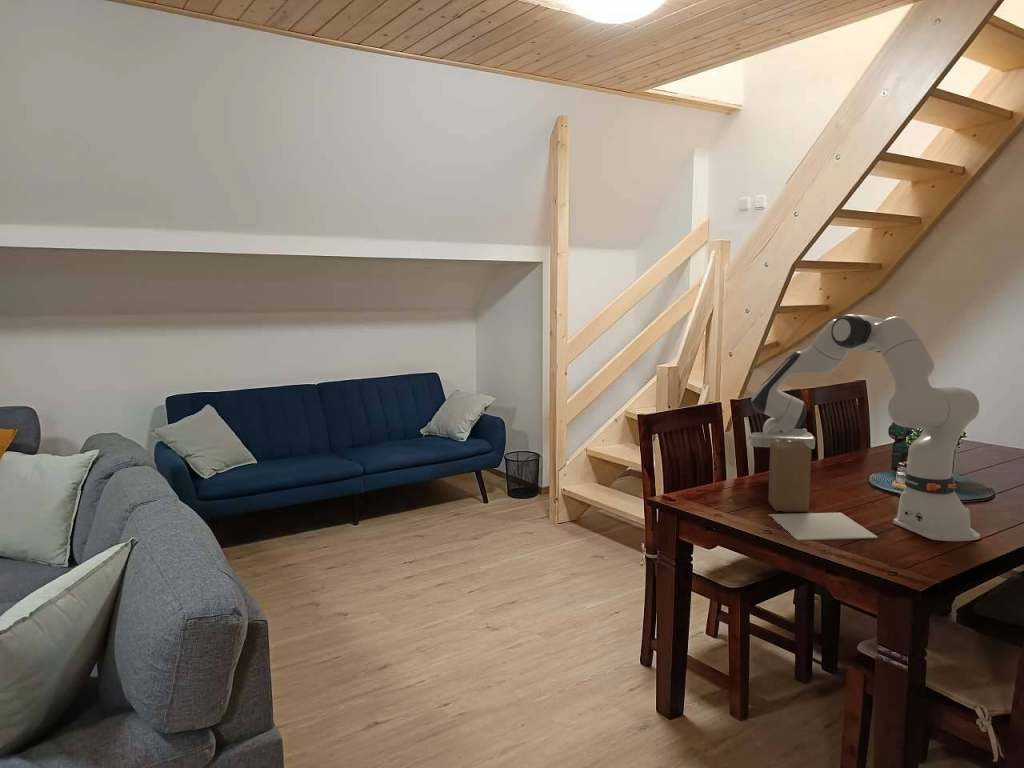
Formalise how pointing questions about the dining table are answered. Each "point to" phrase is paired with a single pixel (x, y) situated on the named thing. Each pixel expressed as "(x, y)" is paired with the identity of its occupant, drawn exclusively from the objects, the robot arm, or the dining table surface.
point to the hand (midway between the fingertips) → (784, 446)
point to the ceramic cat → (899, 443)
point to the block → (789, 476)
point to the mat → (821, 526)
